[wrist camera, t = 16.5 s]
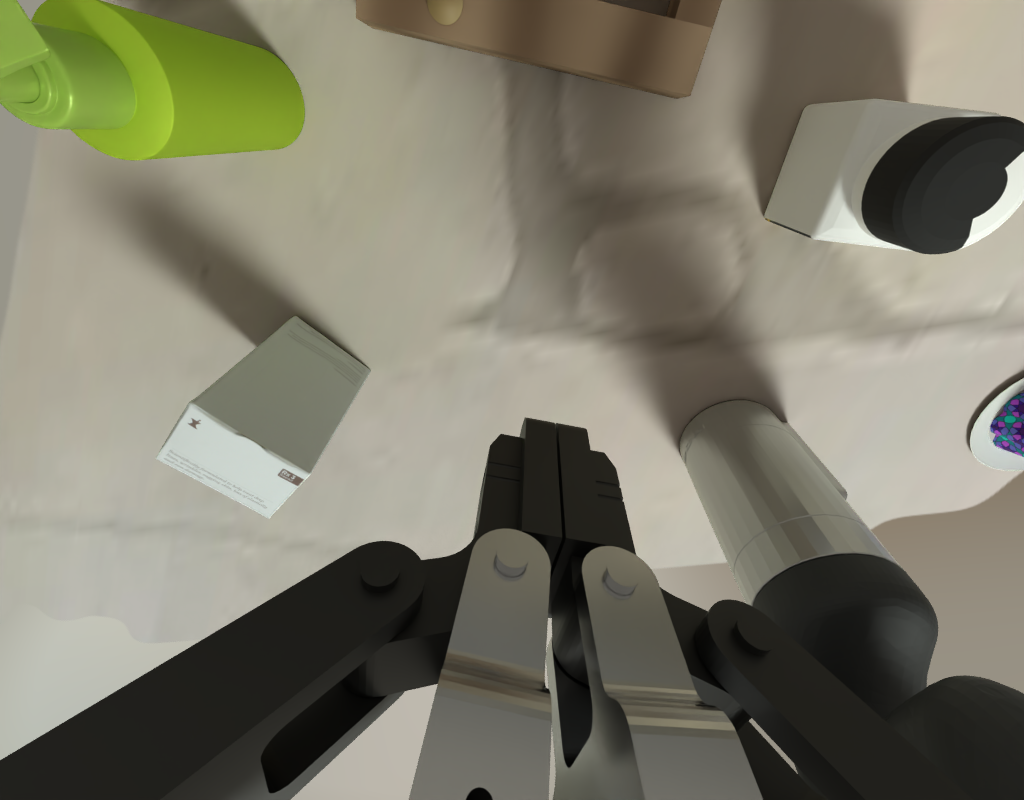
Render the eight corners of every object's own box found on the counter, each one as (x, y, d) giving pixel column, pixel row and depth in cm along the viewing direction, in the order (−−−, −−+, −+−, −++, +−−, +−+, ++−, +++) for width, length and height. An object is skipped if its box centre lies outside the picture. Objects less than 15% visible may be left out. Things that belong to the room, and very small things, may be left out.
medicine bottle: (760, 219, 33) (861, 260, 23) (803, 103, 29) (947, 90, 19) (856, 230, 33) (999, 276, 23) (910, 116, 29) (1111, 110, 19)
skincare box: (265, 355, 41) (143, 457, 28) (298, 309, 38) (179, 399, 26) (344, 410, 44) (264, 525, 31) (378, 371, 41) (307, 479, 28)
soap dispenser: (333, 126, 31) (86, 124, 14) (251, 161, 32) (-66, 197, 15) (287, 23, 28) (-94, -137, 11) (199, 66, 30) (-260, -19, 13)
